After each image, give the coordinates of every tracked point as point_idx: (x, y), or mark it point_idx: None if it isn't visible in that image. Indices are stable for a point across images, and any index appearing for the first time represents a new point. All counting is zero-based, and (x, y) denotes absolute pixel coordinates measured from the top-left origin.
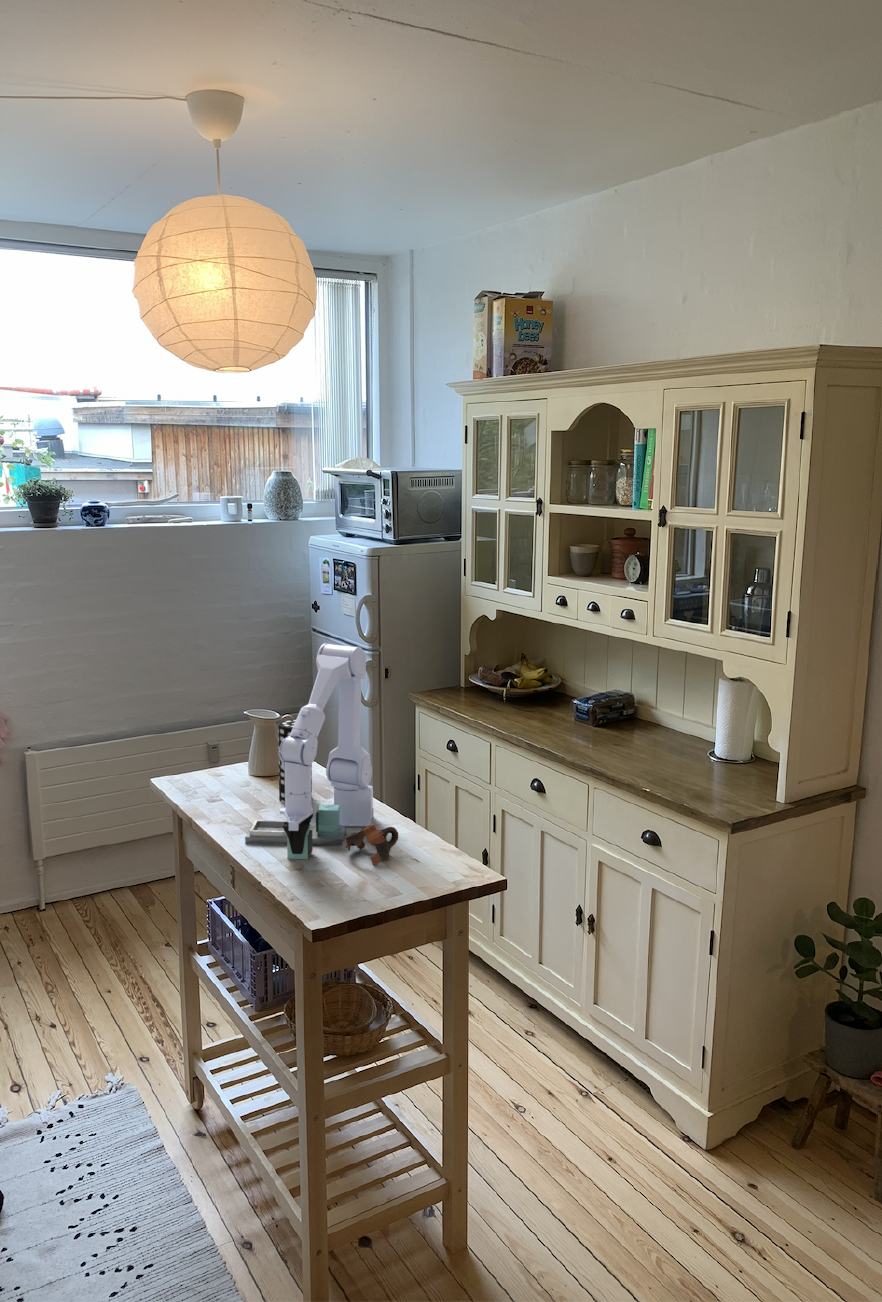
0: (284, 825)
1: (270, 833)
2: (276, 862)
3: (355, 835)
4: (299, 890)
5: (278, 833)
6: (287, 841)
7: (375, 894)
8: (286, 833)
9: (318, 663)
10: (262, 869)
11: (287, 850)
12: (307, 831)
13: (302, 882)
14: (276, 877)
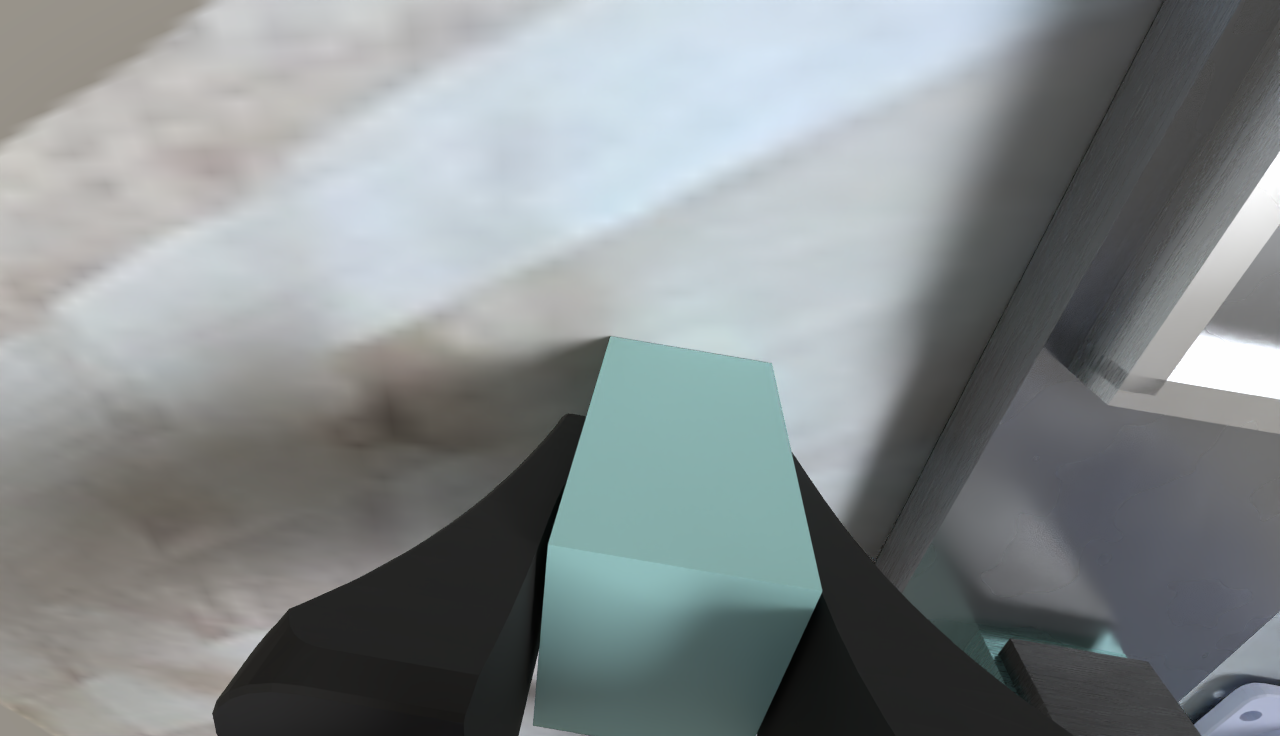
0: (241, 708)
1: (1225, 183)
2: (525, 230)
3: None
4: (24, 401)
5: (1150, 303)
6: (578, 451)
7: (155, 712)
8: (375, 569)
9: None
10: (330, 71)
11: (597, 382)
12: (590, 732)
13: (161, 427)
14: (181, 230)
